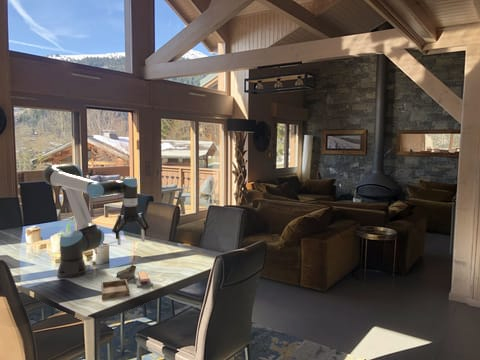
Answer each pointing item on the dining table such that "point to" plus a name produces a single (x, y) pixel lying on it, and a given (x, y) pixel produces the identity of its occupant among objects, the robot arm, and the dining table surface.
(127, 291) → the tray
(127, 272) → the rock
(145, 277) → the checker pad
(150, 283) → the checker base
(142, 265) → the dining table surface
